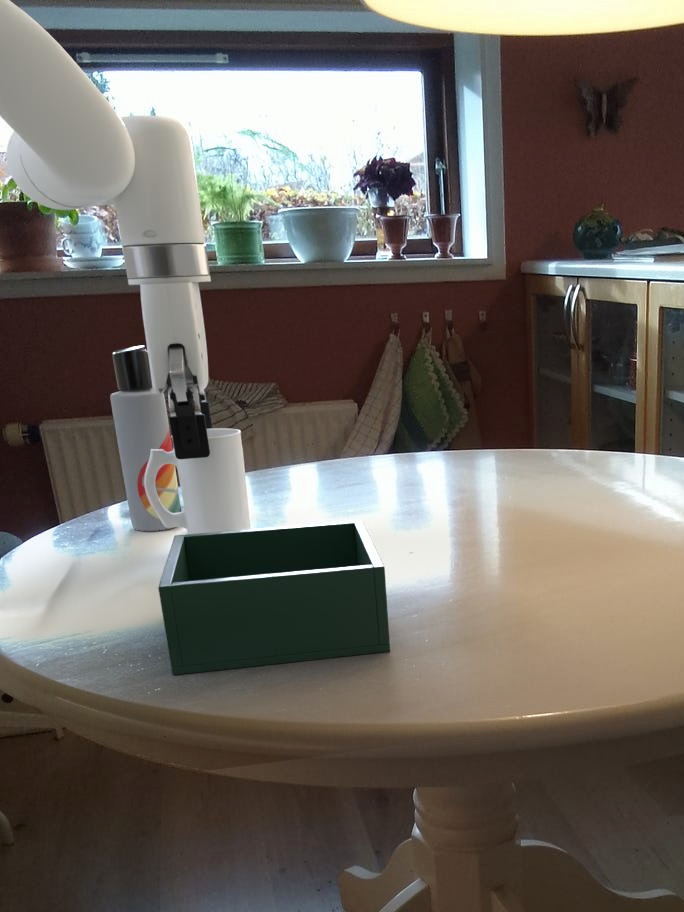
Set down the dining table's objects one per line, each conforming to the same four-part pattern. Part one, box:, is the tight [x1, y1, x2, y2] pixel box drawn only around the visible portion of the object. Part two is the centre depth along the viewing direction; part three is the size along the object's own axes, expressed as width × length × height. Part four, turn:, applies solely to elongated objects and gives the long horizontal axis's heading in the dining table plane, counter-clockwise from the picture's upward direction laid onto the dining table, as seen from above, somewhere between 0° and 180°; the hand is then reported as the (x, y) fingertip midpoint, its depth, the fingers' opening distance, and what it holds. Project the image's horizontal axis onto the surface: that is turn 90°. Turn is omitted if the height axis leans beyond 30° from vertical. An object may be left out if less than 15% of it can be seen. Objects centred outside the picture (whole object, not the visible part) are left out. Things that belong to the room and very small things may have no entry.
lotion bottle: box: [109, 345, 182, 532], centre depth 104 cm, size 6×6×20 cm
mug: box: [144, 427, 251, 534], centre depth 95 cm, size 10×7×12 cm, turn 113°
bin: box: [157, 520, 391, 676], centre depth 73 cm, size 16×15×7 cm
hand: (196, 449), depth 93 cm, fingers open, 9 cm apart
